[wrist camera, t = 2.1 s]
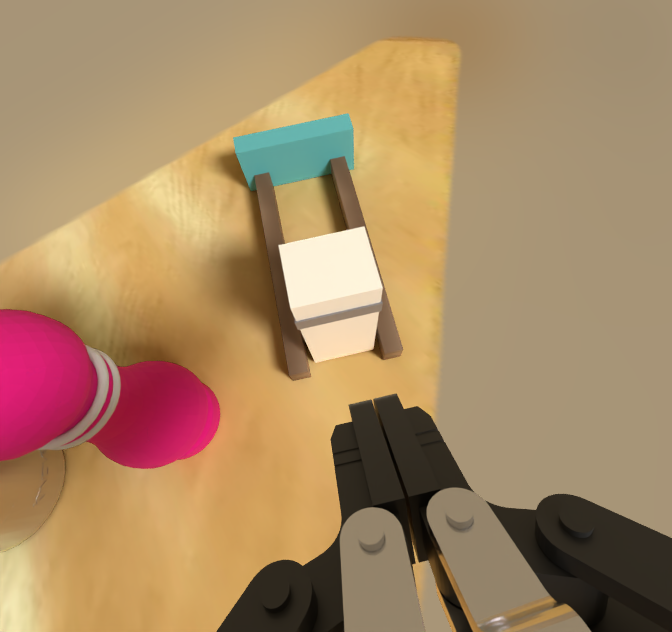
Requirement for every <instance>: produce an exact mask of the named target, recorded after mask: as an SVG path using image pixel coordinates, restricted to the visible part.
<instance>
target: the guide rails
mask: <svg viewBox="0 0 672 632" xmlns="http://www.w3.org/2000/svg"><path fill="white" fill-rule="evenodd" d="M330 163H331V174H332V177H333V181H334V185H335V188H336V192H337V196H338V199H339V203H340V206H341V210H342V214H343V217H344V221H345V224H346V228H347V230H350V229H354V228H359V227H365V230H366V233H367V237H368V240H369V243H370V247H371V250H372V253H373V257H374V260H375V264H376V267H377V270H378V274H379V277H380V280H381V284H382V287H383V290H382V297H381V299H382V302H383V305H382V311H379V316H378V322H377V329H376V336H377V340H378V344H379V347H380V351H381V354H382V358H383V360H385V359H390V358H394V357H398V356H401V353H402V351H403V347H402V344H401V341H400V337H399V334H398V331H397V327H396V324H395V321H394V317H393V314H392V311H391V307H390V304H389V301H388V298H387V294H386V291H385V288H384V284H383V281H382V278H381V274H380V271H379V268H378V264H377V261H376V258H375V254H374V251H373V248H372V244H371V241H370V238H369V235H368V231H367V228H366V225H365V221H364V218H363V215H362V211H361V208H360V205H359V201H358V198H357V195H356V191H355V188H354V185H353V181H352V178H351V175H350V172H349V168H348V165H347V162H346V158H345V156H343V157H338V158H333V159H330ZM254 177H255V182H256V188H257V194H258V200H259V205H260V211H261V217H262V223H263V228H264V234H265V240H266V246H267V251H268V257H269V263H270V269H271V274H272V280H273V286H274V292H275V297H276V303H277V309H278V315H279V320H280V326H281V332H282V337H283V343H284V349H285V355H286V360H287V366H288V372H289V376H290V377H291V379H292V380H293V381H294V380H299V379H303V378H307V377H311V374H310V369H309V364H308V359H307V354H306V349H305V344H304V339H303V335H302V333H301V331H300V330H298V329H297V327H296V325H295V322H294V317H293V313H292V311H291V309H290V304H289V298H288V293H287V288H286V283H285V277H284V272H283V267H282V261H281V256H280V251H279V246H278V245H282V244H285V242H284V237H283V232H282V227H281V222H280V217H279V212H278V207H277V201H276V196H275V191H274V186H273V183H272V180H271V177H270V173H269V172H268V173H263V174H259V175H254Z"/></svg>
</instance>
